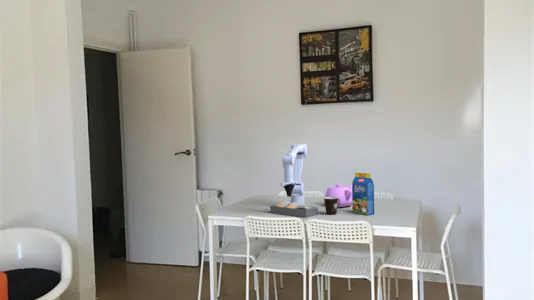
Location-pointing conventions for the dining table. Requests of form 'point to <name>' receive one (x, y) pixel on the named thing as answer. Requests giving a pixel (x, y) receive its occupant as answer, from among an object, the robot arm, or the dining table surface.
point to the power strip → (294, 211)
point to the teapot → (341, 194)
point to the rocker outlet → (304, 207)
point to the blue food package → (363, 194)
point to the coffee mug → (331, 205)
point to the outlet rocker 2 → (294, 205)
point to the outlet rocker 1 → (283, 203)
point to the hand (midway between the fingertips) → (289, 196)
